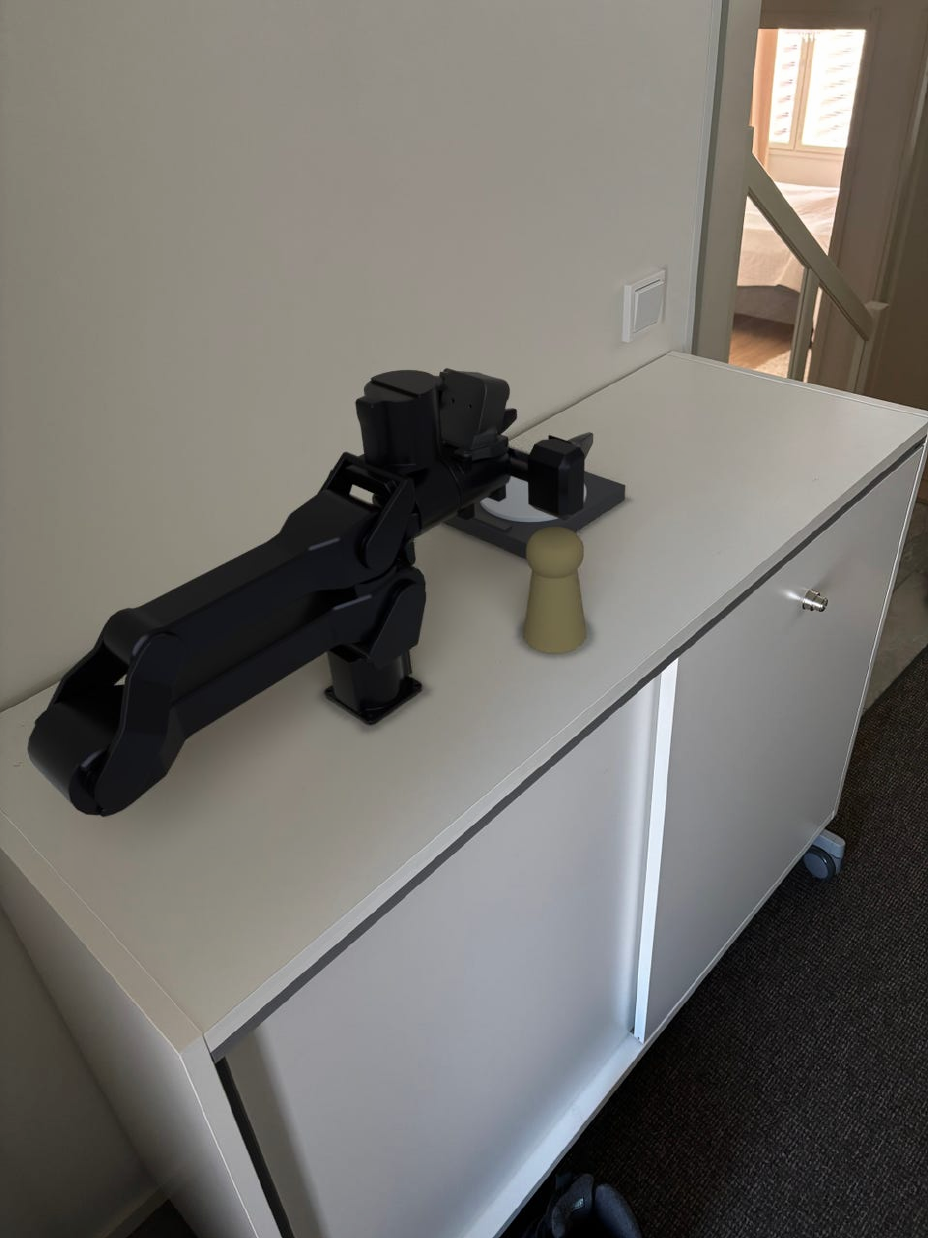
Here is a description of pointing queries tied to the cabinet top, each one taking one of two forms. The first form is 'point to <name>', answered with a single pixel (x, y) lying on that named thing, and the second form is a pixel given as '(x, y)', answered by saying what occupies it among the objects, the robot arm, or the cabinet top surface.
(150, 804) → the cabinet top surface
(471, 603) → the cabinet top surface
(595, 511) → the scale
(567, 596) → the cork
